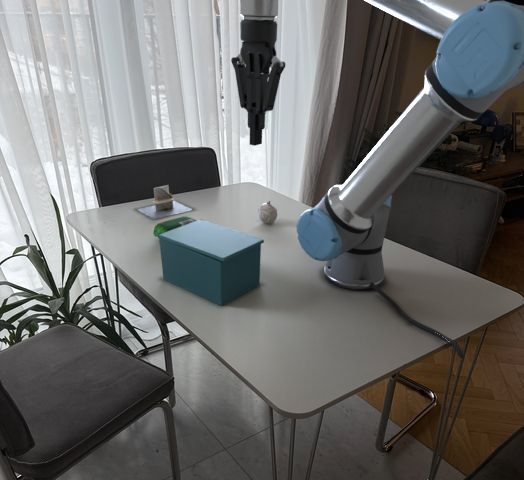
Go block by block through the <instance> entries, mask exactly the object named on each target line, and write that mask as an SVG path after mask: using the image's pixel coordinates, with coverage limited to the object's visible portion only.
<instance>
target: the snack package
mask: <svg viewBox="0 0 524 480" xmlns="http://www.w3.org/2000/svg"><path fill="white" fill-rule="evenodd" d="M195 221H198V220H197V219H195V218H192V217H190V216H186V215H185V216H184V215H183V216H179V217H176V218H172V219H167V220H163V221H161V222H158V223H157V224H156V225H155V226H154V229H153V236H154V237H156V238H158V239H159V234H162V233H165V232H168V231H170V230H173V229H176V228H179V227H181V226H184V225H187V224H190V223H192V222H195Z"/></svg>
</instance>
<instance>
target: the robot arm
mask: <svg viewBox="0 0 524 480" xmlns="http://www.w3.org/2000/svg"><path fill="white" fill-rule="evenodd" d="M364 1H365V2H367V3H369V4H371V5H372V6H374V7H376V8H379V9H380V10H382V11H384V12H386V13H388V14H390V15H392V16H393V17H395V18H397V19H399V20H401V21H403V22H405V23H406V24H409V25H411V26H412V27H415V28H416V29H419V30H420V31H422V32H424V33H426V34H428V35H430V36H432V37H433V38H435V39H437V40H439V43H438V46H437V49H436V57H435V58H434V59H433V61H432V62H431V63H430V64H429V66H428V67H427V68H426V69H425V71H424V87H422V89H421V90H420V91H419V93H418V94H417V95H416V96H415V98H413V100H412V101H411V102H410V104H408V106H407V107H406V108H405V109H404V110H403V112H402V114H400V116H399V117H398V118H397V119H396V120H395V121H394V123H392V125H391V126H390V127H389V129H387V131H386V132H385V134H384V135H383V136H382V137H381V138H380V139H379V141H378V142H377V143H376V145H374V147H373V148H372V149H371V151H370V152H369V153H368V154H367V155H366V157H364V159H363V160H362V162H360V164H359V165H358V166H357V168H356V169H355V170H354V171H353V172H352V173H351V175H350V176H349V177H348V178H347V179H346V180H345V182H344V183H343V184H335V185H333V186H332V187H331V188H330V189H329V190H328V191H327V192H326V194H325V195H324V196H323V197H322V198H321V200H320V201H319V202H318V203H317V204H316V205H315V206H314V207H310V208H307V209H306V210H305V211H303V212H302V214H300V216H299V218H298V219H297V223H296V233H297V240H298V243H299V245H300V247H301V248H302V250H303V251H304V253H305V254H306V255H307V256H309V257H310V258H311V259H313V260H315V261H319V262H325V266H324V271H323V276H324V278H325V279H326V280H327V281H328V282H329V283H331V284H332V285H334V286H337V287H340V288H343V289H347V290H354V291H366V290H372V289H373V290H374V291H375V292H377V293H378V294H379V295H380V296H381V297H382V298H383V299H384V300H386V301H387V303H389V304H390V305H391V306H392V307H393V308H394V309H395V310H396V312H397V313H399V315H400V316H401V317H403V319H404V320H406V321H407V322H409V323H410V324H412V325H413V326H415V327H417V328H419V329H421V330H423V331H426V332H428V333H430V334H431V335H434V336H436V338H437V337H438V338H439V339H441V340H442V341H444V342H446V343H447V344H449V345H451V346H452V347H453V348H454V349H455V351H456V354H457V357H459V358H460V359H464V358H465V357H464V353H463V350H462V348H461V347H460V345H459V344H458V342H456V341H455V340H454V339H452V338H450V337H448V336H446V335H445V334H443V333H441V332H440V331H438V330H436V329H435V328H432V327H429V326H428V325H425V324H423V323H421V322H419V321H417V320H415V319H414V318H412V317H410V316H409V315H408V314H407V313H406V312H405V311H404V310H403V309H402V308H401V306H399V305H398V303H396V302H395V301H394V299H392V298H391V297H390V296H389V295H388V294H386V293H385V292H384V291H383V290H382V289H381V288H379V287H380V286H381V285H382V284H383V282H384V279H385V265H384V259H383V245H384V242H385V236H386V232H387V226H388V222H389V217H390V212H391V208H392V198H393V194H394V193H395V192H396V191H397V190H398V189H399V188H400V187H401V186H402V185H403V183H405V181H406V180H407V179H408V178H409V177H410V176H411V175H413V174H414V172H415V171H416V170H417V169H418V168H419V167H420V166H421V165H422V164H423V163H424V162H425V161H426V160H427V159H428V158H429V157H430V156H431V154H432V153H433V152H434V151H435V150H436V149H437V148H438V147H439V146H440V145H441V144H442V143H443V142H444V141H445V140H446V139H447V138H448V136H450V135H451V134H452V133H453V132H454V131H455V129H457V127H459V125H460V124H461V123H463V122H475V121H477V120H478V119H479V118H480V117H481V116H482V115H483V114H484V113H485V112H486V111H487V110H488V109H489V108H490V107H491V106H492V105H493V104H494V103H495V102H496V101H497V100H498V99H499V98H500V97H501V96H502V95H503V94H504V93H505V92H506V91H508V90H512V89H515V88H518V87H519V86H522V85H523V84H524V5H521V4H520V5H519V4H515V3H512V2H509V1H506V0H364ZM239 2H240V3H239V15H240V16H241V17H242V19H241V20H240V22H239V40H240V41H241V46H240V49H239V50H240V51H239V54H238V55H237V56H235V57H232V58H231V60H230V62H231V65H232V67H233V69H234V73H235V80H236V87H237V93H238V100H239V105H240V106H239V107H240V108H241V109H244V110H246V112H247V128H248V129H249V145H250V146H254V147H255V146H259V145H262V144H263V130H265V128H266V114H267V113H269V112H272V111H273V110H274V109H275V108H274V107H275V103H276V98H277V94H278V89H279V86H280V85H279V84H280V80H281V76H282V74H283V71H284V70H285V68H286V62H285V61H281V60H280V59H279V58H278V56H277V49H276V42H277V40H278V22H277V21H275V18H277V17H278V16H279V15H278V14H279V0H240V1H239ZM435 332H436V333H435ZM437 333H438V334H437ZM439 334H440V335H439ZM442 336H443V337H444V338H443V337H442ZM445 338H446V339H447V340H448V341H450V342H451V343H449V342H448V341H447V340H446V339H445Z"/></svg>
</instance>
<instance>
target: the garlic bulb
mask: <svg viewBox="0 0 524 480" xmlns="http://www.w3.org/2000/svg"><path fill="white" fill-rule="evenodd" d="M257 215H258V218H259V220H260V221H261V222H263V223H265V224H268V225H269V224H273V223H274V222H275V221H276V220H277V218H278V209H277V208H276V207H275V205H274V204H272V203H271V200H269V201H268V202H264V203H262V204H261V205H260V206H259V208H258V211H257Z"/></svg>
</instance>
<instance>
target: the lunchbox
mask: <svg viewBox="0 0 524 480" xmlns="http://www.w3.org/2000/svg"><path fill="white" fill-rule="evenodd" d="M158 239H159V248H160V249H159V250H160V258H161V270H162V278H163V280H164V281H167V282H169V283H170V284H173V285H175V286H177V287H180V288H182V289H183V290H186V291H188V292H189V293H192V294H194V295H197V296H199V297H201V298H203V299H206V300H207V301H210V302H212V303H214V304H216V305H218V306H222V307H223V306H224V305H225V304H227V303H229V302H231V301H232V300H234V299H237V298H239V297H241V296H242V295H244V294H246V293H247V292H249V291H251V290H253V289H254V288H256V287H258V286H260V280H261V254H262V252H261V251H262V244H260V245H257V246H255V247H253V248H251V249H249V250H247V251H245V252H242V253H240V254H238V255H236V256H234V257H232V258H230V259H227V260H225V261H220V260H218V259H215V258H213V257H210V256H207V255H205V254H202V253H199V252H197V251H194V250H191V249H188V248H186V247H183V246H180V245H178V244H175V243H172V242H170V241H167V240H164V239H162V238H158Z"/></svg>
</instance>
